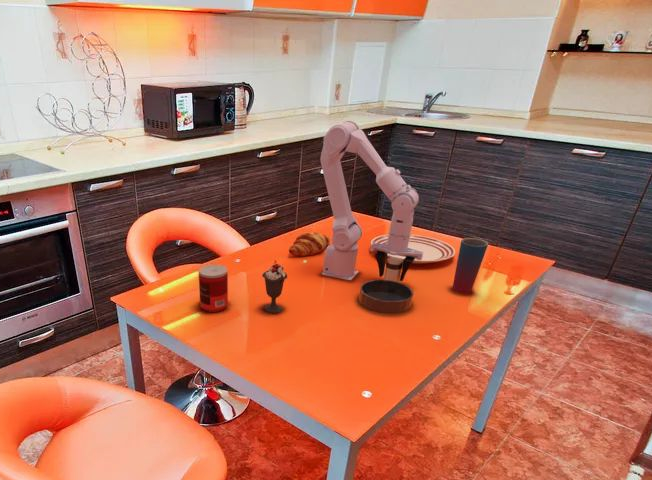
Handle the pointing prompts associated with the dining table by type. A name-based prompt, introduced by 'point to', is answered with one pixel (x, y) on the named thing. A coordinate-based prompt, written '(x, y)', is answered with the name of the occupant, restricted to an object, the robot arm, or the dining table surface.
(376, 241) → the dinner plate
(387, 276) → the beige cylinder
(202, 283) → the canned food
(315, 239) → the croissant
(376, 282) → the pan
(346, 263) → the robot arm
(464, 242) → the cup
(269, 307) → the sundae
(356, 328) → the dining table surface
